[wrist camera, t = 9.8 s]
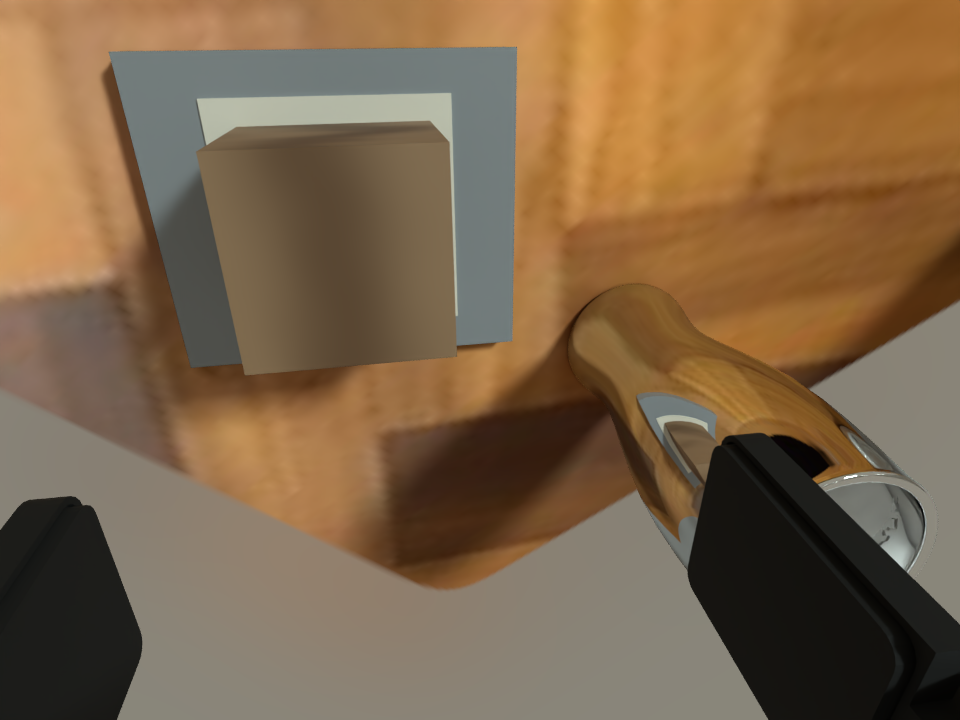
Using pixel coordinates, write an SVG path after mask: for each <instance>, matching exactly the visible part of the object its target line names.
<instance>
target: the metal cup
mask: <svg viewBox="0 0 960 720" xmlns="http://www.w3.org/2000/svg"><path fill="white" fill-rule="evenodd" d="M568 358H569V363H570V366H571V369H572V371H573V373H574V375H575V376H576V378H577V379H578V380H579V381H580V383H581V384H582V385H583V386H584V387H585V388H586V389H588V390H589V391H590V392H591V393H592V394H594V395H595V396H596V397H597V398H599V399H600V400H601V401H602V402H603V403H604V404H605V406H606V407H607V409H608V411H609V413H610V415H611V418H612V421H613V424H614V426H615V430H616V433H617V436H618V439H619V442H620V445H621V448H622V451H623V454H624V457H625V460H626V463H627V465H628V468H629V471H630V473H631V476H632V478H633V480H634V483H635V485H636V487H637V490H638V492H639V494H640V497H641V499H642V500H643V502H644V504H645V506H646V508H647V509H648V511H649V513H650V515H651V517H652V518H653V520H654V522H655V524H656V525H657V527H658V529H659V530H660V532H661V533H662V535H663V536H664V538H665V539H666V541H667V542H668V544H669V545H670V547H671V548H672V550H673V551H674V553H675V554H676V556H677V557H678V558H679V560H680V561H681V562H682V564H683V565H684V567H685V568H686V569H687V571H688V563H689V558H690V553H691V549H692V544H693V539H694V535H695V530H696V525H697V521H698V516H699V511H700V507H701V502H702V497H703V493H704V488H705V483H706V479H707V474H708V469H709V465H710V460H711V455H712V452H713V449H714V448H715V447H716V446H719V445H721V443H722V440H723V439H724V438H725V437H727V436H729V435H739V434H750V433H764V434H766V435H767V436H769V437H770V438H771V439H772V440H773V441H774V442H775V443H776V444H777V445H778V446H779V447H780V448H781V449H782V450H783V451H784V452H785V453H786V454H787V455H788V456H789V457H790V458H791V459H792V460H793V461H794V462H795V463H796V464H797V465H799V466H800V467H801V468H802V469H803V470H804V471H805V472H806V473H807V474H808V475H809V476H810V477H811V478H812V479H813V480H814V481H815V482H816V483H817V484H818V485H819V486H820V487H821V488H822V489H823V490H824V491H825V492H826V493H827V494H828V495H829V496H830V497H831V498H832V499H833V500H834V501H835V502H836V503H837V504H838V505H839V506H840V507H841V508H842V509H843V510H844V511H845V512H846V513H847V514H848V515H849V516H850V517H851V518H852V519H853V520H854V521H855V522H856V523H857V524H858V525H859V526H860V527H861V528H862V529H863V530H864V531H865V532H866V533H867V534H868V535H870V536H871V537H872V538H873V539H874V540H875V541H876V542H877V543H878V544H879V545H880V546H881V547H882V548H883V549H884V550H885V551H886V552H887V553H888V554H889V555H890V556H891V557H892V558H893V559H894V560H895V561H896V562H897V563H898V564H899V565H900V566H901V567H902V568H903V569H904V570H905V571H906V572H907V573H908V574H909V575H910V576H911V577H912V578H913V579H915V578H916V576H917V575H918V573H919V572H920V571H921V569H922V568H923V566H924V564H925V563H926V561H927V559H928V557H929V555H930V553H931V551H932V549H933V546H934V543H935V540H936V536H937V530H938V515H937V509H936V506H935V503H934V501H933V499H932V497H931V495H930V494H929V493H928V491H927V490H926V489H925V488H924V487H923V486H922V485H921V484H919V483H918V482H916V481H915V480H913V479H912V478H911V477H909V476H908V475H907V474H906V473H905V472H904V471H903V470H902V469H901V468H900V467H899V466H897V465H896V464H895V463H894V462H893V461H892V460H891V459H890V458H889V457H888V456H887V455H886V454H885V453H884V452H883V451H882V450H881V449H880V448H879V447H877V446H876V445H875V444H874V443H873V442H872V441H871V440H870V439H869V438H867V436H865V435H864V434H863V433H862V432H861V431H860V430H859V429H858V428H857V427H856V426H854V425H853V424H852V423H851V422H850V421H849V420H847V419H846V418H845V417H844V416H843V415H841V414H840V413H839V412H838V411H837V410H835V409H834V408H833V407H832V406H831V405H829V404H828V403H827V402H826V401H824V400H823V399H822V398H820V397H819V396H817V395H816V394H814V393H813V392H812V391H810V390H809V389H807V388H806V387H805V386H803V385H802V384H800V383H799V382H798V381H796V380H795V379H793V378H792V377H790V376H788V375H786V374H784V373H782V372H781V371H779V370H777V369H775V368H773V367H772V366H770V365H768V364H766V363H764V362H762V361H760V360H758V359H756V358H754V357H752V356H750V355H747V354H745V353H743V352H741V351H739V350H737V349H734V348H732V347H730V346H728V345H725V344H723V343H721V342H719V341H716V340H714V339H712V338H710V337H708V336H706V335H705V334H703V333H702V332H700V331H699V330H698V329H697V328H696V327H694V325H693V324H692V323H691V322H690V320H689V319H688V317H687V315H686V314H685V312H684V311H683V309H682V307H681V306H680V305H679V303H678V302H677V301H676V300H675V299H674V298H673V297H672V296H671V295H670V294H668V293H667V292H665V291H663V290H661V289H659V288H657V287H654V286H651V285H646V284H628V285H623V286H619V287H616V288H613V289H611V290H608V291H606V292H605V293H603V294H601V295H600V296H598V297H597V298H595V299H594V300H593V301H592V302H591V303H589V304H588V305H587V306H586V307H585V309H584V310H583V311H582V312H581V313H580V315H579V316H578V318H577V319H576V321H575V323H574V325H573V327H572V330H571V333H570V336H569V340H568Z"/></svg>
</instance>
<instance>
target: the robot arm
mask: <svg viewBox="0 0 960 720" xmlns="http://www.w3.org/2000/svg"><path fill="white" fill-rule="evenodd" d="M688 578H689V582H690V585H691V588H692V590H693V592H694V593H695V595H696V597H697V598H698V600H699V602H700V604H701V605H702V607H703V609H704V610H705V612H706V614H707V616H708V617H709V619H710V620H711V622H712V624H713V626H714V627H715V629H716V631H717V632H718V634H719V636H720V638H721V639H722V641H723V643H724V645H725V646H726V648H727V650H728V651H729V653H730V655H731V657H732V658H733V660H734V662H735V663H736V665H737V667H738V668H739V670H740V672H741V674H742V675H743V677H744V679H745V680H746V682H747V684H748V686H749V687H750V689H751V691H752V692H753V694H754V696H755V697H756V699H757V701H758V703H759V704H760V706H761V708H762V709H763V711H764V713H765V715H766V716H767V718H768V720H960V625H959V623H958V622H957V621H956V620H955V619H954V618H953V617H952V616H951V615H950V614H949V613H947V611H946V610H945V609H944V608H942V607H941V605H939V604H938V603H937V602H936V601H935V600H934V599H933V598H932V597H931V596H930V595H929V594H928V593H927V592H926V591H925V590H924V589H923V588H922V587H921V586H920V585H919V584H918V583H917V582H916V581H915V580H914V579H913V578H912V577H911V576H910V575H909V574H908V573H907V572H906V571H905V570H904V569H903V568H902V567H901V566H900V565H899V564H898V563H897V562H896V561H895V560H894V559H893V558H892V557H891V556H890V555H889V554H888V553H887V552H886V551H885V550H884V549H883V548H882V547H881V546H880V545H879V544H878V543H877V542H876V541H875V540H874V539H873V538H872V537H871V536H870V535H868V534H867V533H866V532H865V531H864V530H863V529H862V528H861V527H860V526H859V525H858V524H857V523H856V522H855V521H854V520H853V519H852V518H851V517H850V516H849V515H848V514H847V513H846V512H845V511H844V510H843V509H842V508H841V507H840V506H839V505H838V504H837V503H836V502H835V501H834V500H833V499H832V498H831V497H830V496H829V495H828V494H827V493H826V492H825V491H824V490H823V489H822V488H821V487H820V486H819V485H818V484H817V483H816V482H815V481H814V480H813V479H812V478H811V477H810V476H809V475H808V474H807V473H806V472H805V471H804V470H803V469H802V468H801V467H800V466H799V465H797V464H796V463H795V462H794V461H793V460H792V459H791V458H790V457H789V456H788V455H787V454H786V453H785V452H784V451H783V450H782V449H781V448H780V447H779V446H778V445H777V444H776V443H775V442H774V441H773V440H772V439H771V438H770V437H769V436H767V435H766V434H764V433H750V434H739V435H729V436H727V437H725V438H724V439H723V440H722V443H721V445H719V446H716V447H715V448H714V449H713V452H712V455H711V460H710V465H709V469H708V474H707V479H706V483H705V488H704V493H703V497H702V502H701V507H700V511H699V516H698V521H697V525H696V530H695V535H694V539H693V544H692V549H691V553H690V558H689V563H688ZM141 652H142V636H141V632H140V629H139V626H138V624H137V621H136V619H135V616H134V613H133V610H132V608H131V605H130V603H129V600H128V597H127V594H126V592H125V589H124V586H123V584H122V581H121V578H120V576H119V573H118V570H117V568H116V565H115V562H114V560H113V557H112V555H111V552H110V549H109V547H108V544H107V541H106V539H105V536H104V533H103V531H102V528H101V526H100V523H99V520H98V517H97V515H96V512H95V511H94V509H93V508H92V507H91V506H88V505H84V506H83V505H82V504H81V502H80V500H78V499H77V498H76V497H72V496H68V497H57V498H47V499H35V500H28V501H26V502H23V503H22V504H21V505H20V506H19V507H18V508H17V509H16V511H15V512H14V513H13V514H12V516H11V517H10V518H9V520H8V521H7V522H6V523H5V525H4V526H3V527H2V529H1V530H0V720H117V718H118V715H119V712H120V710H121V707H122V704H123V702H124V700H125V697H126V694H127V692H128V689H129V687H130V684H131V681H132V679H133V676H134V674H135V671H136V668H137V666H138V663H139V660H140V657H141Z"/></svg>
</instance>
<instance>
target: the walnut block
mask: <svg viewBox="0 0 960 720" xmlns="http://www.w3.org/2000/svg"><path fill="white" fill-rule="evenodd" d="M196 154H197V159H198V163H199V168H200V172H201V177H202V182H203V186H204V191H205V195H206V200H207V204H208V209H209V214H210V218H211V223H212V227H213V232H214V236H215V241H216V245H217V250H218V255H219V259H220V264H221V268H222V273H223V277H224V282H225V287H226V291H227V296H228V300H229V305H230V309H231V314H232V319H233V323H234V328H235V332H236V337H237V341H238V346H239V351H240V355H241V360H242V364H243V369H244V373H245V375H256V374H267V373H278V372H290V371H301V370H312V369H324V368H335V367H346V366H357V365H369V364H380V363H391V362H402V361H414V360H425V359H436V358H448V357H457V342H456V313H455V284H454V255H453V226H452V197H451V167H450V142H449V141H448V140H447V139H446V138H445V137H444V135H443V134H442V133H441V132H440V131H439V130H438V129H437V128H436V127H435V126H434V125H433V123H432V122H431V121H402V122H371V123H340V124H308V125H277V126H246V127H235V128H234V129H232V130H230V131H229V132H227V133H226V134H224V135H222V136H221V137H219V138H217V139H216V140H214V141H212V142H211V143H209V144H208V145H206V146H204V147H203V148H201V149H199V150H198V151H196Z"/></svg>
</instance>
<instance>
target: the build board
mask: <svg viewBox="0 0 960 720" xmlns="http://www.w3.org/2000/svg"><path fill="white" fill-rule="evenodd" d="M109 55H110V59H111V62H112V66H113V70H114V74H115V78H116V82H117V86H118V89H119V93H120V97H121V101H122V105H123V109H124V112H125V116H126V120H127V124H128V128H129V132H130V136H131V139H132V143H133V147H134V151H135V155H136V159H137V162H138V166H139V170H140V174H141V178H142V182H143V186H144V189H145V193H146V197H147V201H148V205H149V209H150V212H151V216H152V220H153V224H154V228H155V232H156V235H157V239H158V243H159V247H160V251H161V255H162V259H163V262H164V266H165V270H166V274H167V278H168V282H169V285H170V289H171V293H172V297H173V301H174V305H175V309H176V312H177V316H178V320H179V324H180V328H181V332H182V335H183V339H184V343H185V347H186V351H187V355H188V359H189V362H190V366H191V368H194V367H206V366H218V365H230V364H242V360H241V355H240V351H239V346H238V341H237V337H236V332H235V328H234V323H233V319H232V314H231V309H230V305H229V300H228V296H227V291H226V287H225V282H224V277H223V273H222V268H221V264H220V259H219V255H218V250H217V245H216V241H215V236H214V232H213V227H212V223H211V218H210V214H209V209H208V204H207V200H206V195H205V191H204V186H203V182H202V177H201V172H200V168H199V163H198V159H197V154H196V151H198V150H199V149H201V148H203V147H204V146H206V145H208V144H209V143H211V142H212V141H214V140H216V139H217V138H219V137H221V136H222V135H224V134H226V133H227V132H229V131H230V130H232V129H234V128H235V127H246V126H277V125H308V124H340V123H371V122H402V121H431V122H432V123H433V125H434V126H435V127H436V128H437V129H438V130H439V131H440V132H441V133H442V134H443V135H444V137H445V138H446V139H447V140H448V141H449V142H450V167H451V197H452V226H453V255H454V284H455V313H456V342H457V346H458V345H471V344H483V343H495V342H507V341H512V325H513V263H514V200H515V138H516V75H517V47H478V48H390V49H302V50H213V51H125V52H109Z"/></svg>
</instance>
